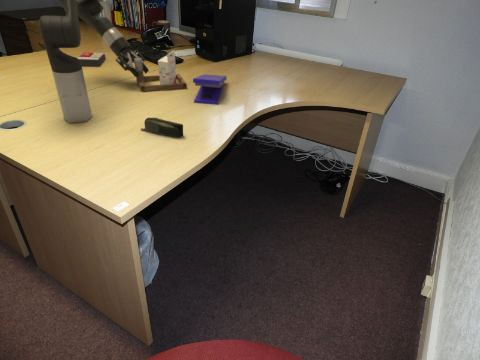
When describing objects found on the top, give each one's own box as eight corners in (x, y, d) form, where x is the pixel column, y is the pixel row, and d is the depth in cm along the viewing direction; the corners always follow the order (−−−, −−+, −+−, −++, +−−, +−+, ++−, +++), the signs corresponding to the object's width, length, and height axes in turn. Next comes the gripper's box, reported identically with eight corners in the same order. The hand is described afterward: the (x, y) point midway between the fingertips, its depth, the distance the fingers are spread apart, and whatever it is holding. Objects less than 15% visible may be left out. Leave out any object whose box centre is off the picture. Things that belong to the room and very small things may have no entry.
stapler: (192, 103, 138) (192, 79, 133) (202, 81, 161) (202, 60, 156) (220, 105, 138) (220, 82, 133) (226, 83, 161) (227, 62, 156)
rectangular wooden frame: (186, 88, 151) (185, 61, 144) (139, 91, 144) (136, 63, 137) (179, 78, 161) (178, 52, 154) (135, 80, 154) (132, 54, 148)
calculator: (104, 52, 179) (98, 58, 167) (106, 60, 182) (99, 67, 169) (83, 51, 178) (75, 57, 165) (85, 60, 180) (76, 66, 168)
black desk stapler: (184, 122, 112) (142, 114, 114) (180, 126, 109) (138, 118, 111) (184, 135, 114) (143, 127, 117) (180, 139, 112) (139, 131, 114)
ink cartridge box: (166, 81, 158) (164, 48, 149) (176, 82, 157) (175, 50, 149) (159, 87, 151) (156, 53, 142) (169, 88, 150) (167, 54, 142)
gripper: (109, 39, 135) (137, 73, 138) (131, 33, 146) (156, 64, 150) (100, 51, 139) (128, 83, 143) (122, 44, 150) (147, 74, 154)
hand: (142, 74), depth 146 cm, fingers open, 6 cm apart
